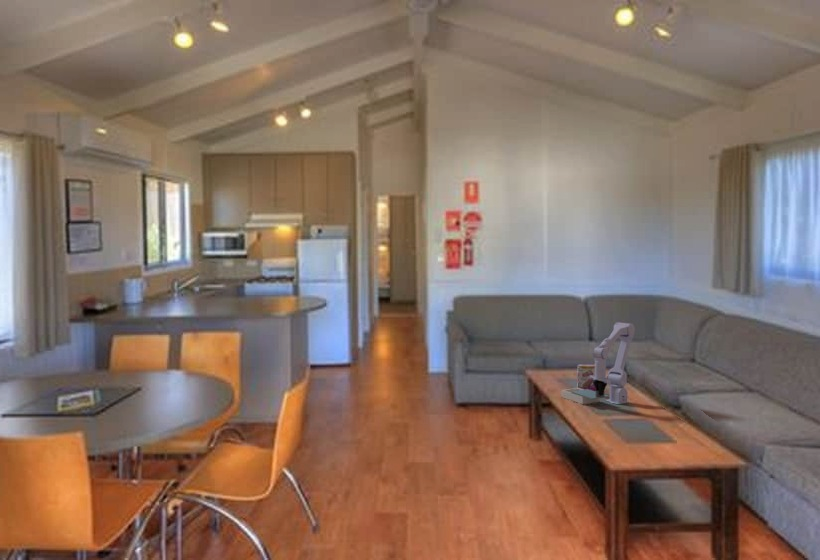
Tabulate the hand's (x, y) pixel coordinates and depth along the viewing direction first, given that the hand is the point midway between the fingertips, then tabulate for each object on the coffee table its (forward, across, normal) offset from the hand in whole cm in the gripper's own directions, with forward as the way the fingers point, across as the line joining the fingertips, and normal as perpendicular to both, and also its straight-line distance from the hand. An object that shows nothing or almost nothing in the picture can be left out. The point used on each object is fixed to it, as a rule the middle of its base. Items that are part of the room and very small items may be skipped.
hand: (600, 394), depth 368 cm
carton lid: (+2, -8, 0) cm, 8 cm away
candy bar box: (+7, -28, +15) cm, 32 cm away
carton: (+6, -16, 0) cm, 17 cm away
